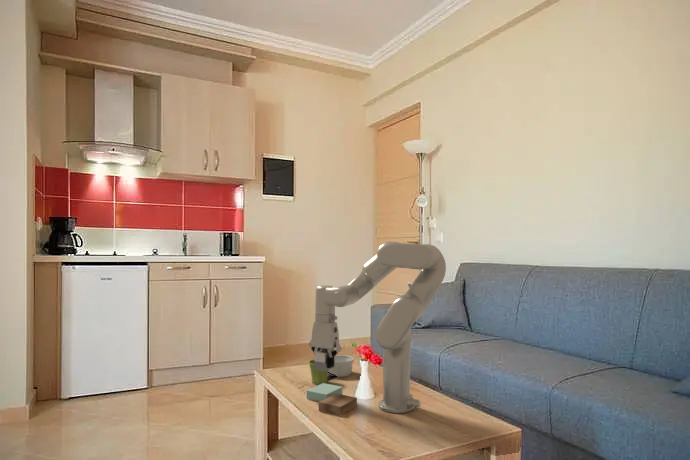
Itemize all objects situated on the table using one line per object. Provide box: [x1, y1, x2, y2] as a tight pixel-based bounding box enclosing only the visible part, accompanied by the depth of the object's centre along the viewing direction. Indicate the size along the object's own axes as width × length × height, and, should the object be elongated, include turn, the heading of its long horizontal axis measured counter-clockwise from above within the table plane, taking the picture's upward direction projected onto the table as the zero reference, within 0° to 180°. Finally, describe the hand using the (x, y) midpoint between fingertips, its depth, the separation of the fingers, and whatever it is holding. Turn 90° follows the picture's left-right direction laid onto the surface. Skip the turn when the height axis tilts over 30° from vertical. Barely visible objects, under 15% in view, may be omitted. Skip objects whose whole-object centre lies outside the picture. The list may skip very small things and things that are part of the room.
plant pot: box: [308, 358, 328, 385], centre depth 193 cm, size 9×9×9 cm
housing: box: [314, 348, 335, 371], centre depth 175 cm, size 5×7×7 cm
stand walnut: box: [318, 393, 358, 417], centre depth 162 cm, size 9×11×3 cm
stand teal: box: [306, 383, 343, 402], centre depth 175 cm, size 9×11×3 cm
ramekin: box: [328, 354, 354, 378], centre depth 206 cm, size 13×13×7 cm
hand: (324, 365), depth 175 cm, fingers closed on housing, 5 cm apart
